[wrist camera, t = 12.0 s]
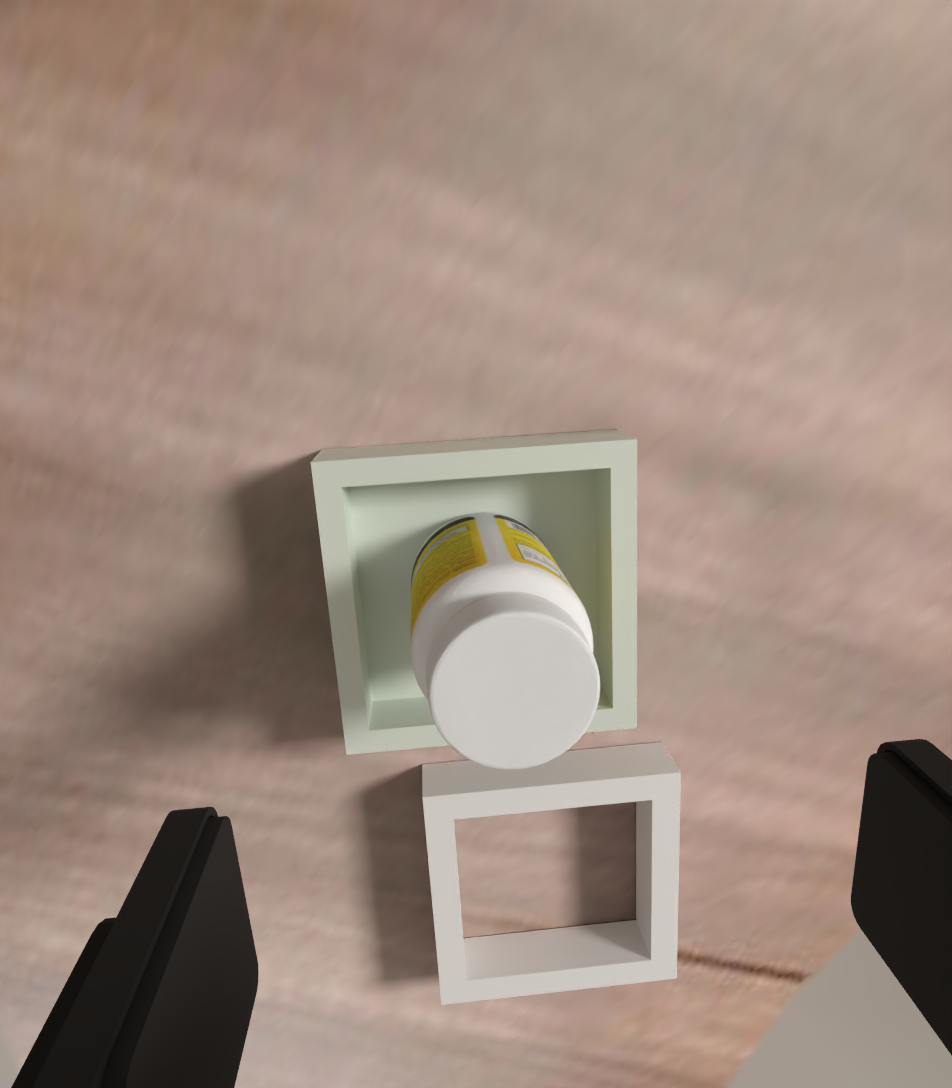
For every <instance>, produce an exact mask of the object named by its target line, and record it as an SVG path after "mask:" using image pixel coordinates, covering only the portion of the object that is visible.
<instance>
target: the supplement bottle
mask: <svg viewBox="0 0 952 1088" xmlns="http://www.w3.org/2000/svg"><path fill="white" fill-rule="evenodd" d="M411 662H412V667H413V671H414V674H415V677H416V680H417V683H418V685H419V687H420V689H421V691H422V693H423V694H424V696H425V697H426V699H427V700H428V703H429V708H430V712H431V716H432V718H433V721H434V723H435V725H436V727H437V729H438V731H439V733H440V734H441V736H442V737H443V738H444V740H445V741H446V742H447V743H448V744H449V745H450V746H451V747H452V748H453V749H454V750H455V751H456V752H458V753H459V754H461V755H462V756H464V757H465V758H467V759H469V760H471V761H473V762H475V763H478V764H480V765H483V766H487V767H491V768H497V769H506V770H508V769H524V768H529V767H533V766H537V765H540V764H543V763H546V762H548V761H550V760H552V759H554V758H556V757H558V756H559V755H561V754H562V753H564V752H565V751H566V750H568V749H569V748H570V747H571V746H572V745H574V744H575V743H576V742H577V741H578V740H579V739H580V738H581V736H582V735H583V734H584V733H585V731H586V730H587V728H588V726H589V725H590V723H591V721H592V719H593V717H594V715H595V712H596V709H597V705H598V701H599V695H600V676H599V670H598V666H597V663H596V660H595V657H594V655H593V634H592V629H591V624H590V621H589V618H588V615H587V613H586V610H585V608H584V606H583V604H582V602H581V601H580V599H579V597H578V596H577V594H576V593H575V591H574V590H573V588H572V587H571V585H570V584H569V582H568V581H567V579H566V577H565V576H564V574H563V573H562V571H561V570H560V568H559V567H558V565H557V563H556V562H555V560H554V559H553V557H552V556H551V554H550V553H549V551H548V550H547V548H546V546H545V545H544V543H543V542H542V540H541V539H540V538H539V537H538V536H537V534H536V533H535V532H534V531H532V530H531V529H530V528H529V527H528V526H526V525H525V524H523V523H522V522H520V521H518V520H517V519H514V518H512V517H509V516H507V515H503V514H499V513H491V512H479V513H472V514H467V515H463V516H460V517H457V518H454V519H452V520H450V521H448V522H446V523H445V524H443V525H441V526H440V527H439V528H437V529H436V530H435V531H434V532H433V533H432V534H431V535H430V536H429V537H428V538H427V539H426V541H425V542H424V543H423V545H422V547H421V548H420V550H419V552H418V554H417V557H416V559H415V562H414V565H413V570H412V577H411Z"/></svg>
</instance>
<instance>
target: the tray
mask: <svg viewBox="0 0 952 1088" xmlns="http://www.w3.org/2000/svg"><path fill="white" fill-rule="evenodd" d="M311 470H312V478H313V486H314V494H315V502H316V511H317V519H318V527H319V535H320V543H321V551H322V560H323V568H324V576H325V584H326V592H327V600H328V609H329V617H330V625H331V633H332V641H333V649H334V658H335V666H336V674H337V682H338V690H339V698H340V707H341V715H342V723H343V731H344V739H345V747H346V755H350V754H361V753H372V752H382V751H393V750H404V749H415V748H425V747H436V746H447V745H449V744H448V743H447V742H446V741H445V740H444V738H443V737H442V736H441V734H440V733H439V731H438V729H437V727H436V725H435V723H434V721H433V718H432V716H431V712H430V708H429V703H428V700H427V699H426V697H425V696H424V694H423V693H422V691H421V689H420V687H419V685H418V683H417V680H416V677H415V674H414V671H413V667H412V662H411V577H412V570H413V565H414V562H415V559H416V557H417V554H418V552H419V550H420V548H421V547H422V545H423V543H424V542H425V541H426V539H427V538H428V537H429V536H430V535H431V534H432V533H433V532H434V531H435V530H436V529H437V528H439V527H440V526H441V525H443V524H445V523H446V522H448V521H450V520H452V519H454V518H457V517H460V516H463V515H467V514H472V513H479V512H491V513H499V514H503V515H507V516H509V517H512V518H514V519H517V520H518V521H520V522H522V523H523V524H525V525H526V526H528V527H529V528H530V529H531V530H532V531H534V532H535V533H536V534H537V536H538V537H539V538H540V539H541V540H542V542H543V543H544V545H545V546H546V548H547V550H548V551H549V553H550V554H551V556H552V557H553V559H554V560H555V562H556V563H557V565H558V567H559V568H560V570H561V571H562V573H563V574H564V576H565V577H566V579H567V581H568V582H569V584H570V585H571V587H572V588H573V590H574V591H575V593H576V594H577V596H578V597H579V599H580V601H581V602H582V604H583V606H584V608H585V610H586V613H587V615H588V618H589V621H590V624H591V629H592V634H593V655H594V657H595V660H596V663H597V666H598V670H599V676H600V695H599V701H598V705H597V709H596V712H595V715H594V717H593V719H592V721H591V723H590V725H589V726H588V728H587V730H586V731H585V733H586V732H597V731H608V730H619V729H629V728H637V439H636V438H634V437H631V436H629V435H627V434H625V433H623V432H621V431H618V430H616V429H610V430H596V431H581V432H567V433H553V434H538V435H524V436H510V437H495V438H481V439H467V440H453V441H438V442H424V443H410V444H395V445H381V446H367V447H352V448H338V449H324V450H321V451H320V452H319V453H318V454H317V455H316V457H315V458H314V459H313V460H312V461H311Z"/></svg>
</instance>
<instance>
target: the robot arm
mask: <svg viewBox="0 0 952 1088" xmlns="http://www.w3.org/2000/svg"><path fill="white" fill-rule="evenodd" d="M851 906H852V910H853V914H854V917H855V919H856V921H857V923H858V925H859V927H860V928H861V930H862V931H863V932H864V934H865V935H866V937H867V938H868V939H869V941H870V942H871V943H872V945H873V946H874V947H875V949H876V950H877V952H878V953H879V954H880V956H881V957H882V959H883V960H884V961H885V963H886V964H887V966H888V967H889V968H890V970H891V971H892V973H893V974H894V976H895V977H896V978H897V980H898V981H899V982H900V984H901V985H902V987H903V988H904V989H905V991H906V992H907V993H908V995H909V996H910V998H911V999H912V1001H913V1002H914V1003H915V1005H916V1006H917V1008H918V1009H919V1010H920V1011H921V1013H922V1014H923V1016H924V1017H925V1019H926V1020H927V1021H928V1023H929V1024H930V1026H931V1027H932V1028H933V1030H934V1031H935V1032H936V1034H937V1035H938V1037H939V1038H940V1039H941V1041H942V1042H943V1044H944V1045H945V1047H946V1048H947V1049H948V1051H949V1052H950V1053H951V1055H952V760H951V759H950V758H948V757H947V756H946V755H945V754H944V753H942V752H941V751H940V750H939V749H938V748H937V747H935V746H934V745H933V744H932V743H930V742H928V741H927V740H923V739H915V740H905V741H894V742H885V743H883V744H881V745H880V747H879V748H878V750H877V753H876V754H873V755H871V756H870V758H869V760H868V764H867V772H866V780H865V788H864V796H863V804H862V812H861V820H860V828H859V836H858V844H857V852H856V860H855V869H854V877H853V885H852V893H851ZM257 986H258V961H257V956H256V951H255V945H254V940H253V935H252V930H251V924H250V919H249V914H248V909H247V904H246V898H245V893H244V888H243V883H242V877H241V872H240V867H239V862H238V856H237V851H236V846H235V841H234V836H233V830H232V825H231V821H230V819H229V817H227V816H223V817H218V815H217V812H216V810H215V809H214V808H213V807H205V808H194V809H184V810H173V811H171V812H170V813H169V814H168V815H167V817H166V819H165V821H164V823H163V825H162V827H161V829H160V831H159V833H158V835H157V837H156V839H155V841H154V843H153V845H152V847H151V849H150V851H149V853H148V855H147V857H146V859H145V861H144V863H143V865H142V867H141V869H140V871H139V873H138V875H137V877H136V879H135V881H134V883H133V885H132V887H131V889H130V891H129V893H128V895H127V897H126V899H125V901H124V903H123V906H122V908H121V910H120V912H119V914H118V916H117V918H108V919H104V920H103V921H102V922H100V923H99V924H98V925H97V927H96V928H95V930H94V931H93V933H92V934H91V936H90V938H89V940H88V942H87V944H86V946H85V948H84V950H83V952H82V954H81V955H80V957H79V959H78V961H77V963H76V965H75V967H74V969H73V971H72V973H71V975H70V977H69V978H68V980H67V982H66V984H65V986H64V988H63V990H62V992H61V994H60V996H59V998H58V999H57V1001H56V1003H55V1005H54V1007H53V1009H52V1011H51V1013H50V1015H49V1017H48V1019H47V1021H46V1022H45V1024H44V1026H43V1028H42V1030H41V1032H40V1034H39V1036H38V1038H37V1040H36V1042H35V1043H34V1045H33V1047H32V1049H31V1051H30V1053H29V1055H28V1057H27V1059H26V1061H25V1063H24V1065H23V1066H22V1068H21V1070H20V1072H19V1074H18V1076H17V1078H16V1080H15V1082H14V1084H13V1086H12V1087H11V1088H234V1086H235V1082H236V1077H237V1073H238V1069H239V1065H240V1060H241V1056H242V1052H243V1048H244V1044H245V1039H246V1035H247V1031H248V1027H249V1022H250V1018H251V1014H252V1010H253V1005H254V1001H255V997H256V992H257Z"/></svg>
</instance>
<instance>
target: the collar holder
mask: <svg viewBox="0 0 952 1088" xmlns="http://www.w3.org/2000/svg"><path fill="white" fill-rule="evenodd" d="M680 784H681V772H680V770H679V769H678V767H677V765H676V764H675V762H674V760H673V759H672V757H671V755H670V754H669V752H668V750H667V749H666V747H665V745H664V744H663V742H657V743H646V744H635V745H625V746H614V747H604V748H593V749H582V750H572V751H565V752H564V753H562V754H561V755H559V756H558V757H556V758H554V759H552V760H550V761H548V762H546V763H543V764H540V765H537V766H533V767H529V768H524V769H508V770H506V769H497V768H491V767H487V766H483V765H480V764H478V763H475V762H473V761H471V760H466V761H455V762H445V763H434V764H424V765H422V798H423V809H424V819H425V830H426V841H427V852H428V863H429V874H430V885H431V896H432V906H433V917H434V928H435V939H436V950H437V961H438V972H439V983H440V994H441V1004H442V1005H445V1004H454V1003H463V1002H472V1001H481V1000H490V999H499V998H507V997H516V996H525V995H534V994H543V993H552V992H561V991H569V990H578V989H587V988H596V987H605V986H614V985H623V984H632V983H640V982H649V981H658V980H667V979H676V978H677V938H678V887H679V835H680ZM626 802H636V920H630V921H621V922H611V923H602V924H593V925H584V926H574V927H565V928H556V929H547V930H537V931H528V932H519V933H510V934H500V935H491V936H482V937H472V938H463V928H462V916H461V903H460V890H459V878H458V865H457V852H456V840H455V827H454V819H464V818H474V817H484V816H495V815H505V814H515V813H525V812H535V811H545V810H555V809H565V808H576V807H586V806H596V805H606V804H616V803H626Z"/></svg>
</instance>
